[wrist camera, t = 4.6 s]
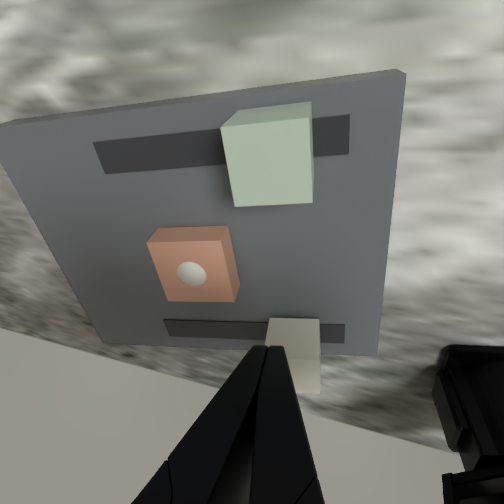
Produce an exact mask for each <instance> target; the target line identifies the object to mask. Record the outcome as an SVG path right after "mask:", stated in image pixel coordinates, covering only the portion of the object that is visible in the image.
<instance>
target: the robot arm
mask: <svg viewBox="0 0 504 504" xmlns="http://www.w3.org/2000/svg"><path fill="white" fill-rule="evenodd" d="M432 395H433V401H434V404H435V406H436V408H437V412H438V415H439V418H440V421H441V425H442V428H443V431H444V434H445V438H446V441H447V444H448V447H449V448H450V449H451V450H452V451H453V452H459V454H460V457H461V460H462V462H463V466H464V469H465V472H460V473H456V474H452V473H447V474H443V475H442V482H443V497H444V504H504V348H495V347H470V346H452V347H450V348H448V349H447V351H446V355H445V358H444V362H443V365H442V369H441V370H440V371H439V372H438V373H437V376H436V380H435V384H434V387H433V391H432ZM131 504H325V502H324V499H323V495H322V491H321V487H320V483H319V480H318V478H317V472H316V469H315V465H314V461H313V457H312V453H311V450H310V445H309V442H308V438H307V434H306V430H305V426H304V422H303V418H302V414H301V410H300V406H299V403H298V399H297V395H296V391H295V387H294V383H293V379H292V376H291V372H290V368H289V364H288V360H287V356H286V352H285V349H284V347H283V346H280V345H271V346H269V347H268V346H267V345H254V346H252V347H251V349H250V350H249V351H248V353H247V354H246V355H245V357H244V358H243V359H242V360H241V362H240V363H239V364H238V366H237V367H236V368H235V370H234V371H233V372H232V374H231V375H230V376H229V378H228V379H227V380H226V381H225V383H224V384H223V385H222V387H221V388H220V389H219V391H218V392H217V393H216V395H215V396H214V397H213V399H212V400H211V401H210V403H209V404H208V405H207V407H206V408H205V409H204V410H203V412H202V413H201V414H200V416H199V417H198V418H197V420H196V421H195V422H194V424H193V425H192V426H191V428H190V429H189V430H188V431H187V433H186V434H185V435H184V437H183V438H182V439H181V441H180V442H179V443H178V445H177V446H176V447H175V449H174V450H173V451H172V452H171V454H170V455H169V457H168V461H167V460H166V461H164V463H163V464H162V466H161V467H160V468H159V470H158V471H157V472H156V473H155V475H154V476H153V477H152V478H151V480H150V481H149V482H148V483H147V485H146V486H145V487H144V489H143V490H142V491H141V492H140V493H139V495H138V496H137V497H136V499H135V500H134V501H133V502H132V503H131Z"/></svg>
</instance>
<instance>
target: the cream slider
mask: <svg viewBox="0 0 504 504" xmlns="http://www.w3.org/2000/svg"><path fill="white" fill-rule="evenodd" d="M265 345H267V346H268V347H269V346H271V345H280V346H283V347H284V349H285V352H286V356H287V360H288V364H289V368H290V372H291V376H292V379H293V383H294V387H295V391H296V393H302V394H315V395H320V325H319V319H299V318H269V324H268V330H267V335H266V341H265Z"/></svg>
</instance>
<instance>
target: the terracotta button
mask: <svg viewBox="0 0 504 504" xmlns="http://www.w3.org/2000/svg"><path fill="white" fill-rule="evenodd" d="M146 243H147V246H148V249H149V251H150V254H151V257H152V260H153V262H154V265H155V268H156V270H157V273H158V276H159V278H160V281H161V284H162V287H163V289H164V292H165V295H166V297H167V300H168V301H182V302H235V299H236V296H237V293H238V290H239V287H240V282H239V277H238V272H237V267H236V262H235V257H234V252H233V247H232V243H231V238H230V233H229V228H228V225H226V226H201V227H175V228H158V229H157V230H156V231H155V233H154V234H153V235H152V236H151V237H150V239H149V240H148V241H147V242H146Z"/></svg>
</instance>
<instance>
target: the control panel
mask: <svg viewBox="0 0 504 504" xmlns="http://www.w3.org/2000/svg"><path fill="white" fill-rule="evenodd" d="M405 83H406V73H404V72H402V71H400V70H398V69H392V70H384V71H377V72H369V73H362V74H354V75H347V76H340V77H332V78H325V79H317V80H310V81H302V82H295V83H287V84H280V85H272V86H265V87H258V88H250V89H243V90H235V91H228V92H220V93H213V94H205V95H198V96H191V97H183V98H176V99H168V100H161V101H153V102H146V103H138V104H131V105H123V106H116V107H109V108H101V109H94V110H86V111H79V112H71V113H64V114H56V115H49V116H41V117H34V118H27V119H19V120H12V121H9V122H5V123H2V124H0V162H1V164H2V166H3V167H4V169H5V171H6V173H7V174H8V176H9V178H10V180H11V181H12V183H13V185H14V187H15V188H16V190H17V192H18V194H19V196H20V197H21V199H22V201H23V203H24V204H25V206H26V208H27V210H28V211H29V213H30V215H31V217H32V219H33V220H34V222H35V224H36V226H37V227H38V229H39V231H40V233H41V234H42V236H43V238H44V240H45V241H46V243H47V245H48V247H49V249H50V250H51V252H52V254H53V256H54V257H55V259H56V261H57V263H58V264H59V266H60V268H61V270H62V271H63V273H64V275H65V277H66V279H67V280H68V282H69V284H70V286H71V287H72V289H73V291H74V293H75V294H76V296H77V298H78V300H79V302H80V303H81V305H82V307H83V309H84V310H85V312H86V314H87V316H88V317H89V319H90V321H91V323H92V324H93V326H94V328H95V330H96V332H97V333H98V335H99V337H100V339H101V340H102V342H103V343H111V344H131V345H152V346H172V347H192V348H212V349H233V350H250V349H251V347H252V346H254V345H265V341H266V335H267V330H268V324H269V318H299V319H319V325H320V354H334V355H354V356H375V357H377V349H378V340H379V330H380V321H381V311H382V302H383V292H384V283H385V273H386V264H387V254H388V245H389V235H390V226H391V216H392V207H393V197H394V188H395V178H396V169H397V159H398V149H399V140H400V130H401V121H402V111H403V102H404V92H405ZM310 101H311V105H312V132H313V160H314V184H313V203H300V204H281V205H261V206H242V207H235V205H234V200H233V194H232V189H231V183H230V178H229V172H228V167H227V162H226V156H225V151H224V145H223V140H222V134H221V129H220V127H221V126H222V125H223V124H224V123H225V122H226V121H227V120H228V119H230V118H231V117H232V116H233V115H234V114H235V113H236V112H237V111H238V110H243V109H251V108H260V107H268V106H276V105H285V104H293V103H301V102H310ZM226 225H228V228H229V233H230V238H231V243H232V247H233V252H234V257H235V262H236V267H237V272H238V277H239V282H240V287H239V290H238V293H237V296H236V299H235V302H182V301H168V300H167V297H166V295H165V292H164V289H163V287H162V284H161V281H160V278H159V276H158V273H157V270H156V268H155V265H154V262H153V260H152V257H151V254H150V251H149V249H148V246H147V243H146V242H147V241H148V240H149V239H150V237H151V236H152V235H153V234H154V233H155V231H156V230H157V229H158V228H175V227H201V226H226Z"/></svg>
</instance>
